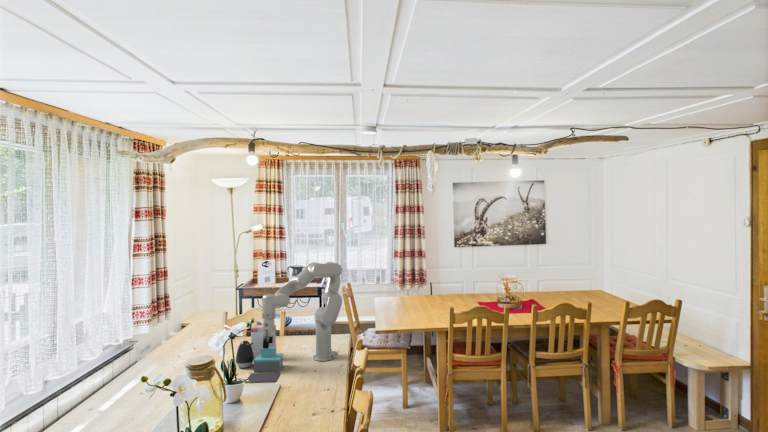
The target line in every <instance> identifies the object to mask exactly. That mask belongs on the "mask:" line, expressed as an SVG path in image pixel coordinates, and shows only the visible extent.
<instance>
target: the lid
mask: <svg viewBox="0 0 768 432" xmlns="http://www.w3.org/2000/svg"><path fill="white" fill-rule="evenodd" d="M282 357H284V353H283V352H280V353H279V352H277V346H276V347H269V348H268V349H263V347H262V348H261V354H258V355H257V356H256V357H255V359H254V360H253V363H254V362H280V360H281V358H282Z"/></svg>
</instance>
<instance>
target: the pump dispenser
mask: <svg viewBox="0 0 768 432" xmlns="http://www.w3.org/2000/svg"><path fill="white" fill-rule="evenodd" d="M252 344H253V342H252V343H251V342H250V341H249V340H247V339H246V340H245V339H244V340H243V341H241V342H240V343H239V345H238V347H237V350H236V355H235V363H236V364H235V365H237V367H238V368H241V369H247V368H249V367H251V366H252V364H254V362H253V360H254V354H253V350H252V347H251V345H252Z"/></svg>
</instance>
